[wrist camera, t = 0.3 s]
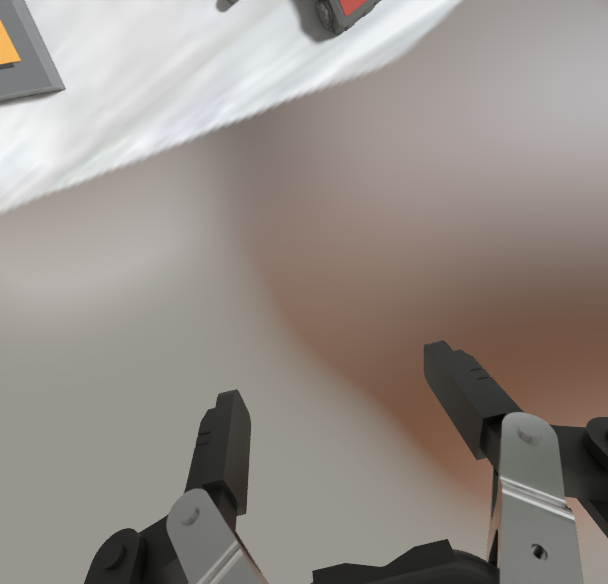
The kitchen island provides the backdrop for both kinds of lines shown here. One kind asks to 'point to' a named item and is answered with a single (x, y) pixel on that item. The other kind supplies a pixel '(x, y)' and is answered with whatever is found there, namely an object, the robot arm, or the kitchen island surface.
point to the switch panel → (23, 55)
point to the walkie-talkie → (340, 12)
